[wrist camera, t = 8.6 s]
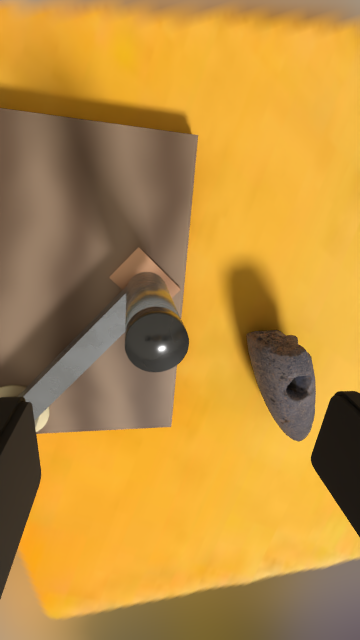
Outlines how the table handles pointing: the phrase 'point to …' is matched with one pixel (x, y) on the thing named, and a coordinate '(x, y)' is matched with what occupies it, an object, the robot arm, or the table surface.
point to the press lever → (116, 318)
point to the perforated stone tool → (284, 380)
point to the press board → (87, 256)
